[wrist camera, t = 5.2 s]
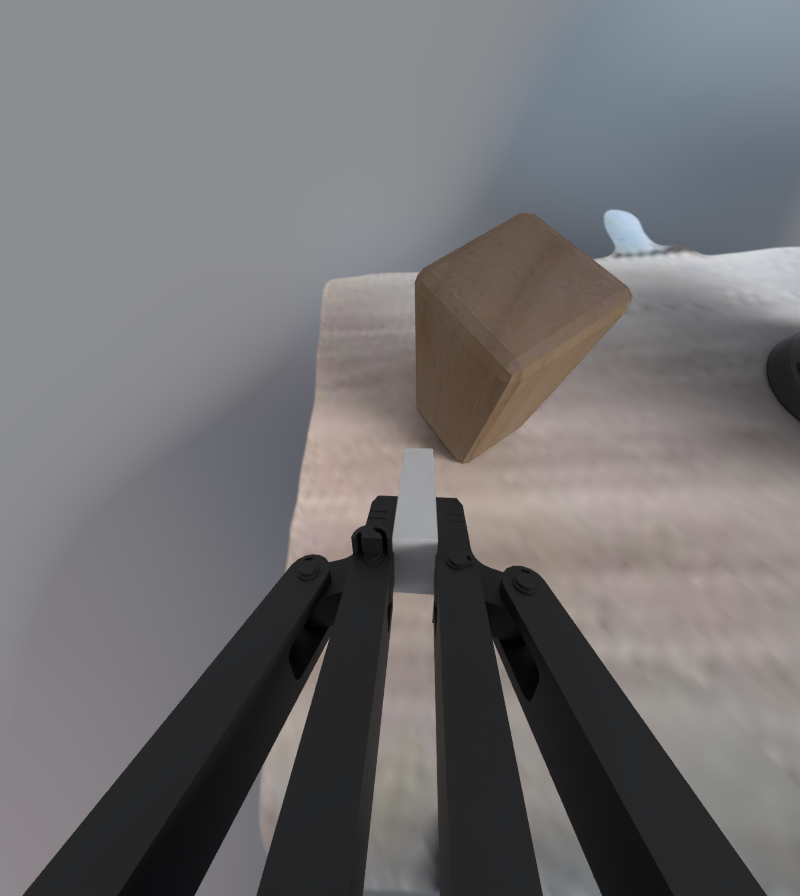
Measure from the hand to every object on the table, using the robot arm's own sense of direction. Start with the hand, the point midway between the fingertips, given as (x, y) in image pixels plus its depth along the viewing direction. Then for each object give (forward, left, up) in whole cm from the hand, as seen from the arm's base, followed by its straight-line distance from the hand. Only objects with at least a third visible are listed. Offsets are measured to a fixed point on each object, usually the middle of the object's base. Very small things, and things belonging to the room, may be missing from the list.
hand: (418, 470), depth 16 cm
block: (-13, -2, -19) cm, 23 cm away
